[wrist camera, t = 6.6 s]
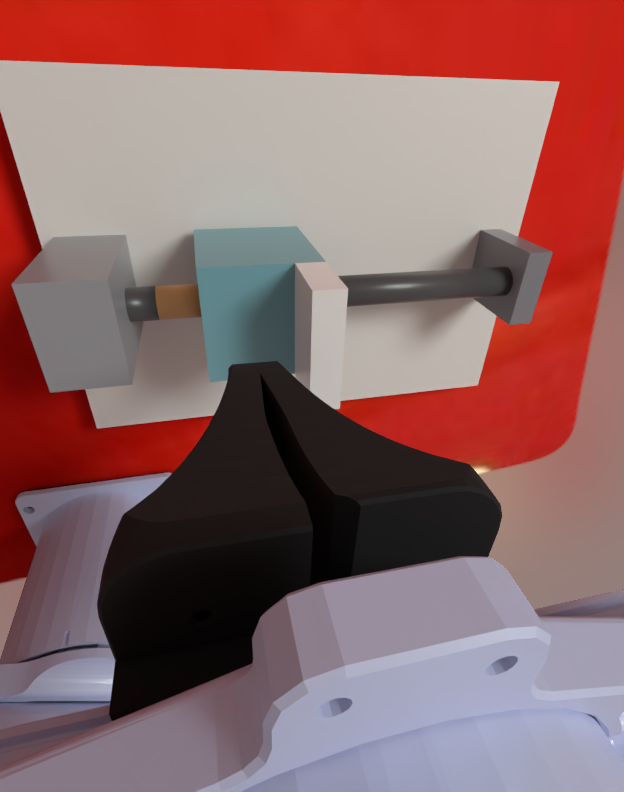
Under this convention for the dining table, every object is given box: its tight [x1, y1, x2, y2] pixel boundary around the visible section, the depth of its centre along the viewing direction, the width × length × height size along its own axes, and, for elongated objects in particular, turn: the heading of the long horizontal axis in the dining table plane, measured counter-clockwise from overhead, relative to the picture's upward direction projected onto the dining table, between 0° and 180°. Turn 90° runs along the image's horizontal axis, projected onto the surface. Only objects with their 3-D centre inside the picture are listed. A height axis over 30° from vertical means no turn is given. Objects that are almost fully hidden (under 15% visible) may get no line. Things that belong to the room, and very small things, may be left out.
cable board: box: [0, 60, 559, 429], centre depth 18 cm, size 14×20×6 cm
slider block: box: [194, 226, 348, 409], centre depth 16 cm, size 4×4×7 cm
